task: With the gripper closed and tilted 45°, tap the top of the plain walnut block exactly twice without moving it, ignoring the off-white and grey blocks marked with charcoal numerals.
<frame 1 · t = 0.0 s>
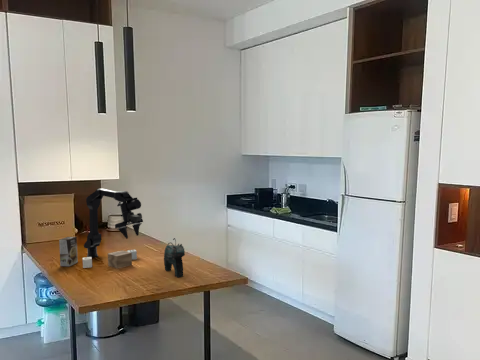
hand: (132, 237, 267), 15 cm above the table, tool pointing down, fingers open, 9 cm apart
offwhite numeral block: (87, 266, 261), on the table
coffee box: (69, 264, 266), on the table
grey numeral block: (130, 258, 277), on the table
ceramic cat: (173, 274, 242), on the table
plain walnut block: (120, 265, 262), on the table
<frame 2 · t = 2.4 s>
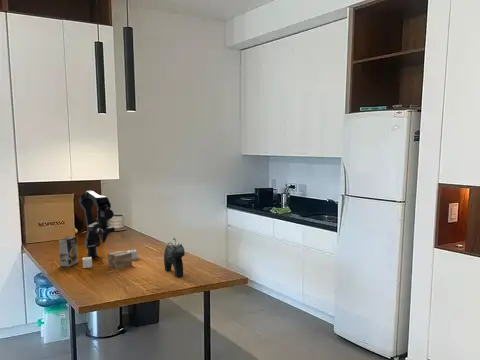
hand: (103, 242, 269), 12 cm above the table, tool pointing down, fingers closed
nothing on the table moved.
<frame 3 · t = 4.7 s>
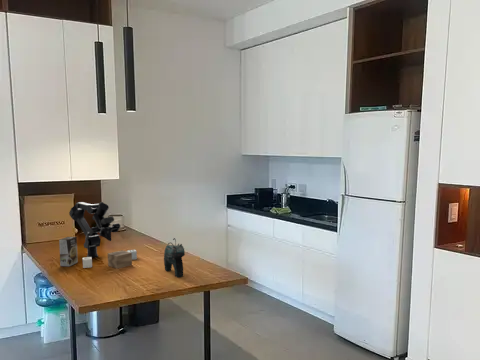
hand: (110, 240, 267), 14 cm above the table, tool tilted 45°, fingers closed
nothing on the table moved.
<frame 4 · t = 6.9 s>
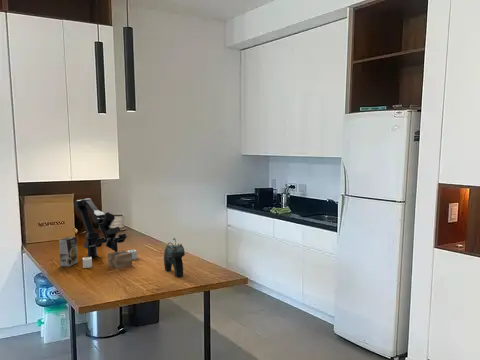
hand: (116, 251, 263), 8 cm above the table, tool tilted 45°, fingers closed
nothing on the table moved.
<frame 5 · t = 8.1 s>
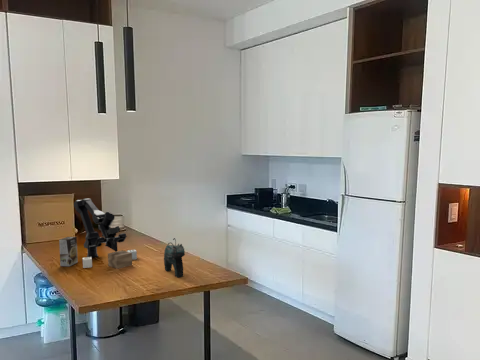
hand: (116, 251, 263), 8 cm above the table, tool tilted 45°, fingers closed
nothing on the table moved.
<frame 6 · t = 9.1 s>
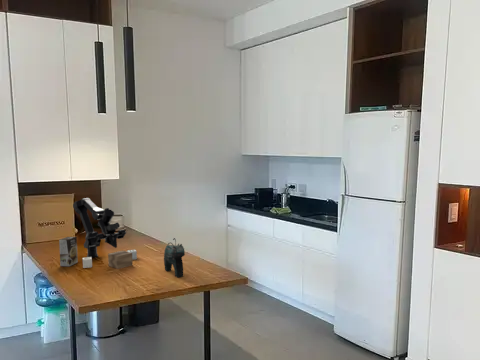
hand: (116, 247, 263), 10 cm above the table, tool tilted 45°, fingers closed
nothing on the table moved.
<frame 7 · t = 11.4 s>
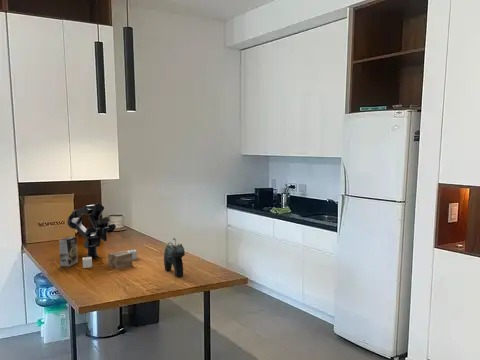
hand: (106, 240, 271), 13 cm above the table, tool tilted 45°, fingers closed
nothing on the table moved.
at the end: plain walnut block moved 0.7 cm from its start; plain walnut block tilted 0°; offwhite numeral block moved 0.1 cm from its start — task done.
